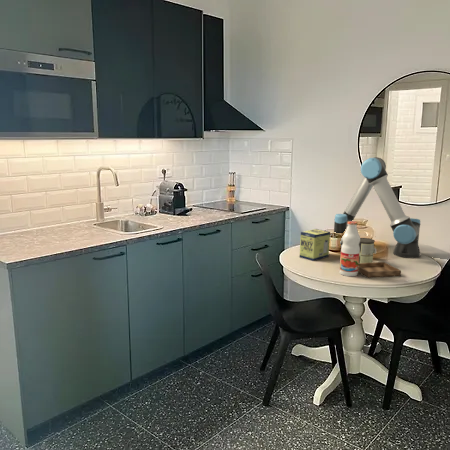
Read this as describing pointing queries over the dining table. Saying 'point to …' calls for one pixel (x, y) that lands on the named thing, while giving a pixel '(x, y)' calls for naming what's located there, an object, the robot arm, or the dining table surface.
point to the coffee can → (366, 250)
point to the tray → (378, 270)
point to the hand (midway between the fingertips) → (364, 251)
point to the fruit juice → (350, 250)
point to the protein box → (314, 244)
